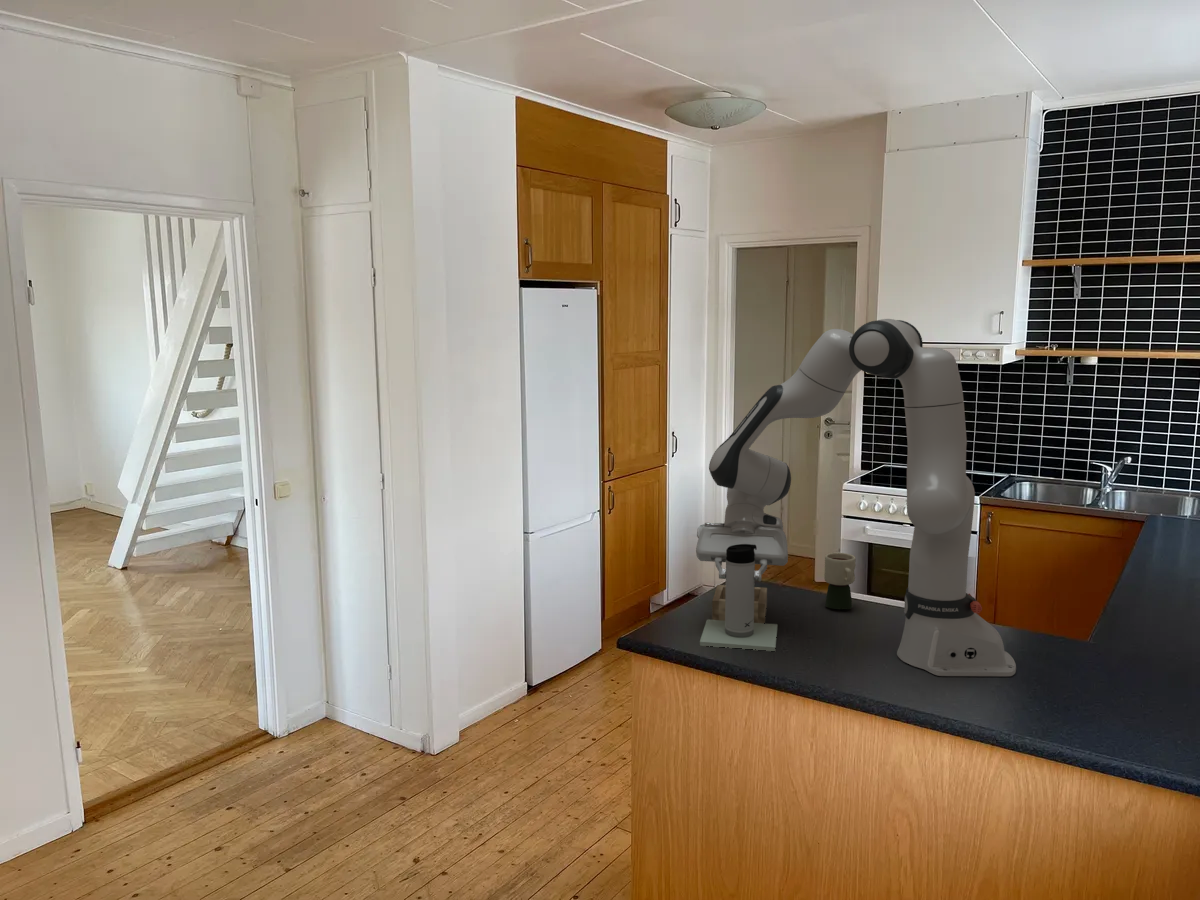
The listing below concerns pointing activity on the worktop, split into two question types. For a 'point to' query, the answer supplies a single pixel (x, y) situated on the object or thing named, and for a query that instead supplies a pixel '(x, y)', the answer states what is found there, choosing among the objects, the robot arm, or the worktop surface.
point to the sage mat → (758, 640)
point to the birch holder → (759, 604)
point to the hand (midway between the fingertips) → (739, 578)
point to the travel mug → (740, 590)
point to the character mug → (839, 579)
